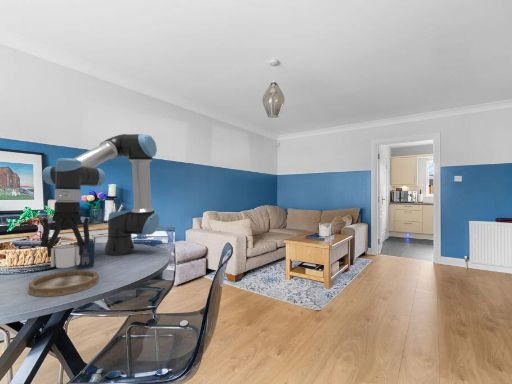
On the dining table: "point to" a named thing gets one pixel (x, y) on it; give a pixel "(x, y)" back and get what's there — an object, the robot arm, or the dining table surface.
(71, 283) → the round tray
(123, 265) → the dining table surface
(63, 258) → the shot glass
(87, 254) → the dark blue box
